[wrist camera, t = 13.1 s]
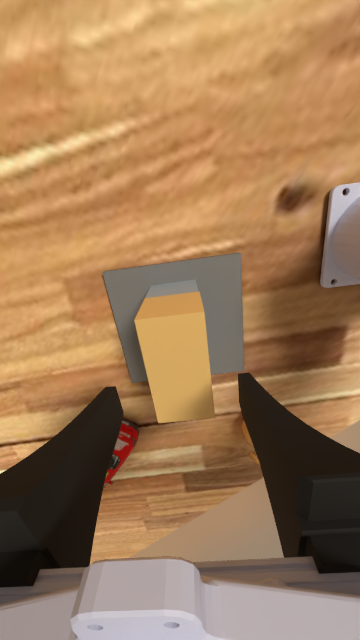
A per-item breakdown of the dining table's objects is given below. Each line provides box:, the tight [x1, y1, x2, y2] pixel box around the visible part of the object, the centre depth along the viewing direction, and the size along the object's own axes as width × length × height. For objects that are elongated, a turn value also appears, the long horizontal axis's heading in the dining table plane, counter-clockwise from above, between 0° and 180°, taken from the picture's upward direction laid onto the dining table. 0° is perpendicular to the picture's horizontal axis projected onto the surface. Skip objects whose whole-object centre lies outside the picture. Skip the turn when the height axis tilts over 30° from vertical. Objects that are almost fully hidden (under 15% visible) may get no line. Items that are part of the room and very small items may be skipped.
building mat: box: [102, 253, 244, 383], centre depth 22 cm, size 12×12×1 cm
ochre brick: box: [134, 291, 215, 423], centre depth 16 cm, size 4×8×4 cm, turn 8°
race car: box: [103, 418, 139, 488], centre depth 28 cm, size 13×5×4 cm, turn 147°
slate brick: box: [145, 280, 198, 298], centre depth 20 cm, size 4×8×4 cm, turn 8°
